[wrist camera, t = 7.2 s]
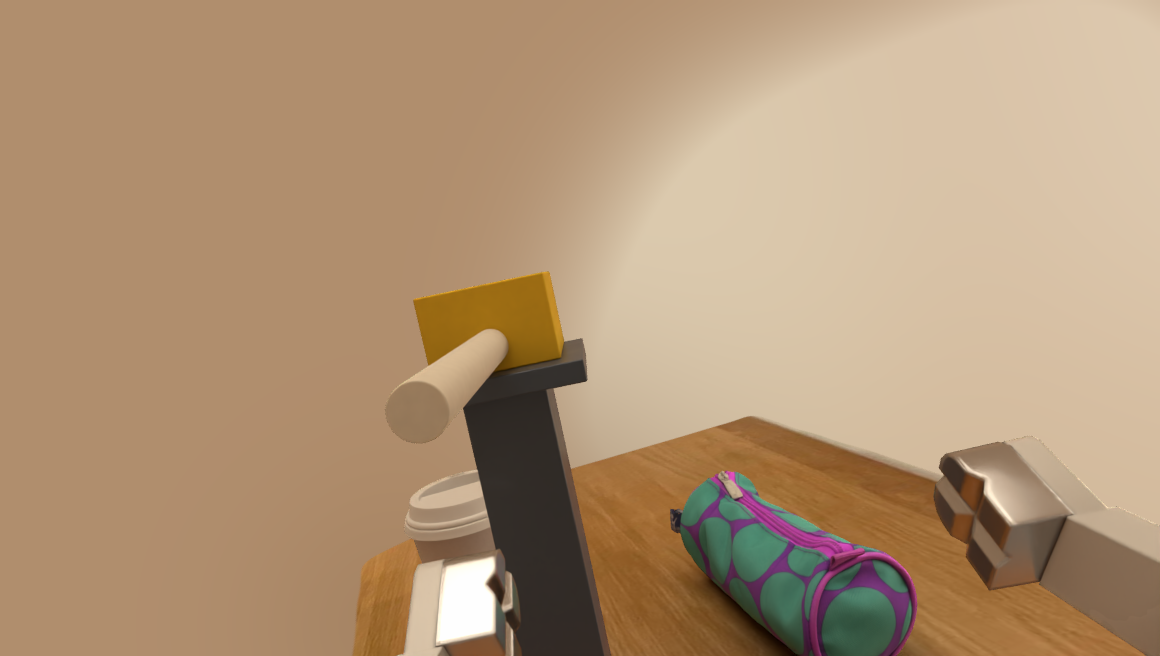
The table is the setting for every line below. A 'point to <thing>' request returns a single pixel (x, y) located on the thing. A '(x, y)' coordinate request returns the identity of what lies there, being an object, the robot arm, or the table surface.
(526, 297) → the sponge wand
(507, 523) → the stand
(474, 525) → the coffee cup
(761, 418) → the table surface
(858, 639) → the pencil case
